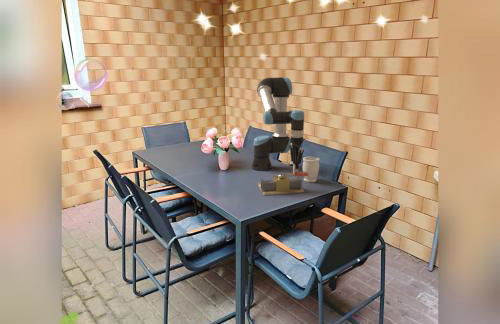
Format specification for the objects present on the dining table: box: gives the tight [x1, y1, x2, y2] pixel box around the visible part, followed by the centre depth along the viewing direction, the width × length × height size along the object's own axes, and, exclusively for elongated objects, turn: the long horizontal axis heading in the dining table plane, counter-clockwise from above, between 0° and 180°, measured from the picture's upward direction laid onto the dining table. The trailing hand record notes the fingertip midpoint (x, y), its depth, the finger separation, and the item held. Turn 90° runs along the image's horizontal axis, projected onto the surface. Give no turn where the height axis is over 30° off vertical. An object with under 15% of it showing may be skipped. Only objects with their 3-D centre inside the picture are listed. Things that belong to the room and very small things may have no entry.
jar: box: [302, 156, 320, 183], centre depth 231 cm, size 11×10×15 cm
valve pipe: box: [260, 175, 303, 192], centre depth 214 cm, size 8×24×8 cm, turn 100°
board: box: [257, 182, 305, 196], centre depth 219 cm, size 18×25×1 cm
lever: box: [277, 171, 308, 178], centre depth 213 cm, size 18×4×2 cm, turn 95°
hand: (295, 173), depth 217 cm, fingers closed
